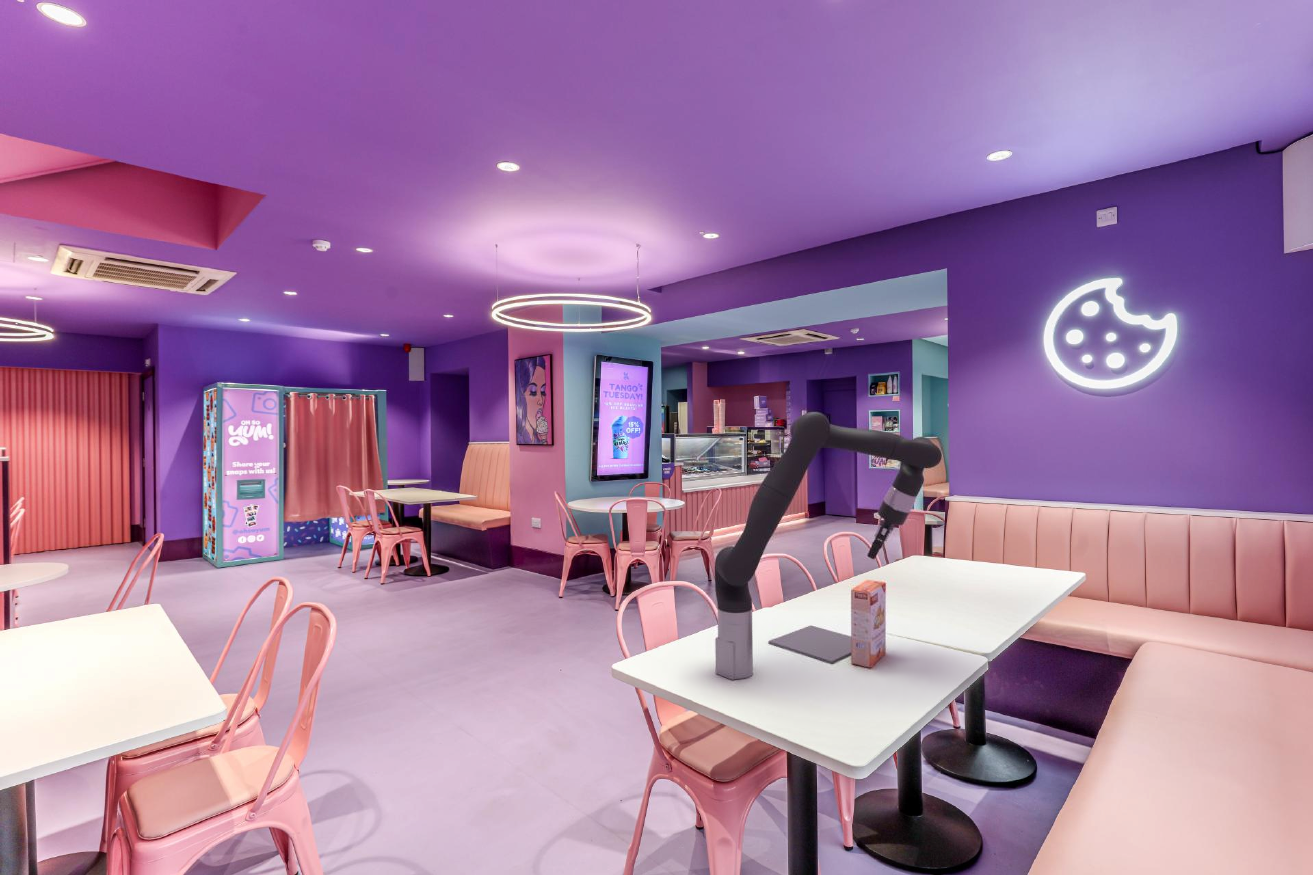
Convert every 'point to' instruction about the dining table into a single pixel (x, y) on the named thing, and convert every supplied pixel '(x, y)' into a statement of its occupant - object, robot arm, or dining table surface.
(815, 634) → the mat
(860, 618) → the cracker box
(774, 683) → the dining table surface
